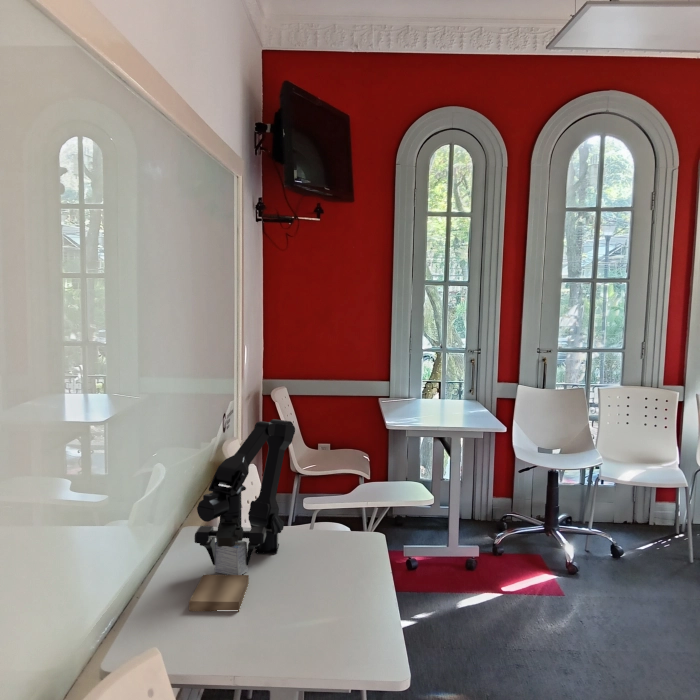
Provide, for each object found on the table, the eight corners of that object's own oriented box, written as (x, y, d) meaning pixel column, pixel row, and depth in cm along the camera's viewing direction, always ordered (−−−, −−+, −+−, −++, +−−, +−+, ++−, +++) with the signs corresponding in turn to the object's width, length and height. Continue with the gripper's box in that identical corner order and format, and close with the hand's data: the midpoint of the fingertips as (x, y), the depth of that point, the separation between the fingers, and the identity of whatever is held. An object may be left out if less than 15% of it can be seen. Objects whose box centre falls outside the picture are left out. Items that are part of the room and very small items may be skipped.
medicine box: (247, 571, 167) (247, 541, 166) (238, 578, 163) (238, 547, 162) (224, 566, 170) (224, 536, 169) (214, 572, 166) (214, 542, 165)
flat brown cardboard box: (248, 586, 159) (248, 575, 159) (239, 613, 145) (238, 601, 145) (203, 585, 159) (203, 574, 159) (189, 613, 145) (189, 601, 145)
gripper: (188, 520, 157) (189, 577, 158) (260, 521, 157) (260, 578, 158) (199, 505, 168) (199, 559, 169) (266, 506, 168) (266, 560, 169)
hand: (231, 564), depth 166 cm, fingers open, 9 cm apart
